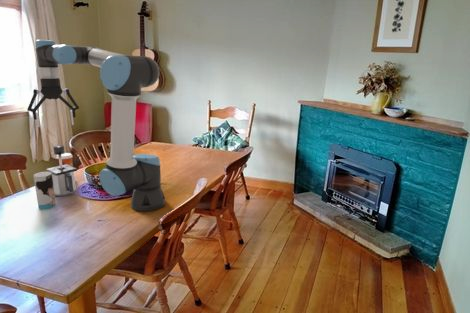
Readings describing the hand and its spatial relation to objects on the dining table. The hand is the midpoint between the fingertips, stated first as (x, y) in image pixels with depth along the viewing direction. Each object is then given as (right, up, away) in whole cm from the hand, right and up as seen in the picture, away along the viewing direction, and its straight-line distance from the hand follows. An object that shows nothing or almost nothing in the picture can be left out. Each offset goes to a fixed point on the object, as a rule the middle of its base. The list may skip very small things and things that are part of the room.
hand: (56, 125), depth 149 cm
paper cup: (-8, -27, +26) cm, 38 cm away
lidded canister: (0, -32, +9) cm, 33 cm away
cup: (-1, -36, -5) cm, 36 cm away
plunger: (-1, -30, +9) cm, 31 cm away
